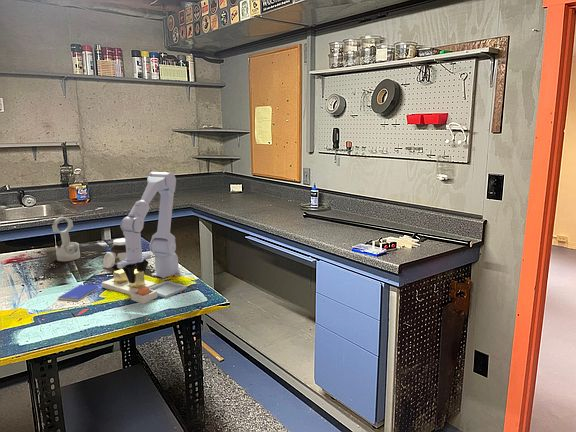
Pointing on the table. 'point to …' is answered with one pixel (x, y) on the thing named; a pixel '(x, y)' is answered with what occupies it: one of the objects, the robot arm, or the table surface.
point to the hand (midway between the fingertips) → (136, 280)
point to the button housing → (144, 298)
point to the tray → (168, 289)
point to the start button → (143, 290)
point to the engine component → (66, 243)
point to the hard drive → (78, 292)
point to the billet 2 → (138, 279)
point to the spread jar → (115, 253)
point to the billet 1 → (120, 276)
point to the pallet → (124, 286)
